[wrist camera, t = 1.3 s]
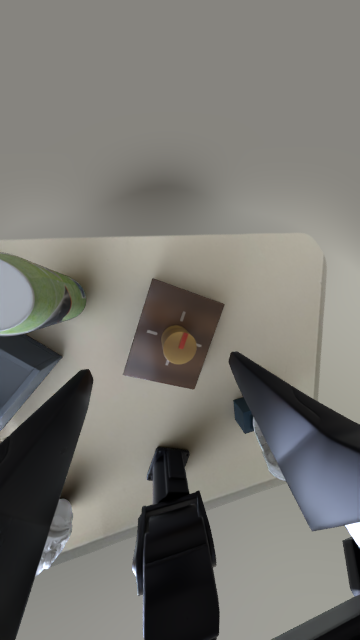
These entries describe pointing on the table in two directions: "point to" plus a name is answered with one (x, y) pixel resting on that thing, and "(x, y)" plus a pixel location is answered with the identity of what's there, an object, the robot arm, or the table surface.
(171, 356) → the yellow dial knob
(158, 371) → the brown dial base
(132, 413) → the table surface
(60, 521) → the frog figurine
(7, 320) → the beverage can
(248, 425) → the watch
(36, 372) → the dark gray square tray
